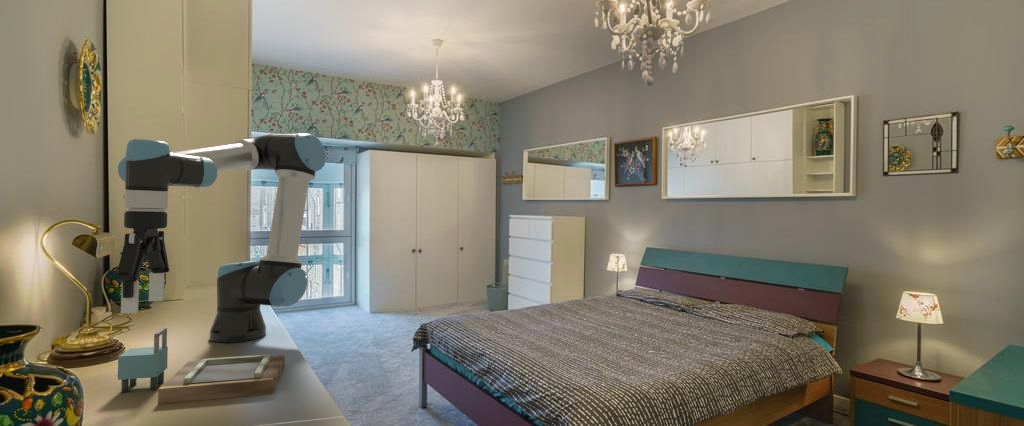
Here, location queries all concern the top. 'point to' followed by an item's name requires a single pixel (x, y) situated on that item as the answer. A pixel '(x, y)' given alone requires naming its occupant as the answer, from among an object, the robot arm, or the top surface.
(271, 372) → the dock
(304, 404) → the top surface
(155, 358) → the light blue chair
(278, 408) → the top surface
